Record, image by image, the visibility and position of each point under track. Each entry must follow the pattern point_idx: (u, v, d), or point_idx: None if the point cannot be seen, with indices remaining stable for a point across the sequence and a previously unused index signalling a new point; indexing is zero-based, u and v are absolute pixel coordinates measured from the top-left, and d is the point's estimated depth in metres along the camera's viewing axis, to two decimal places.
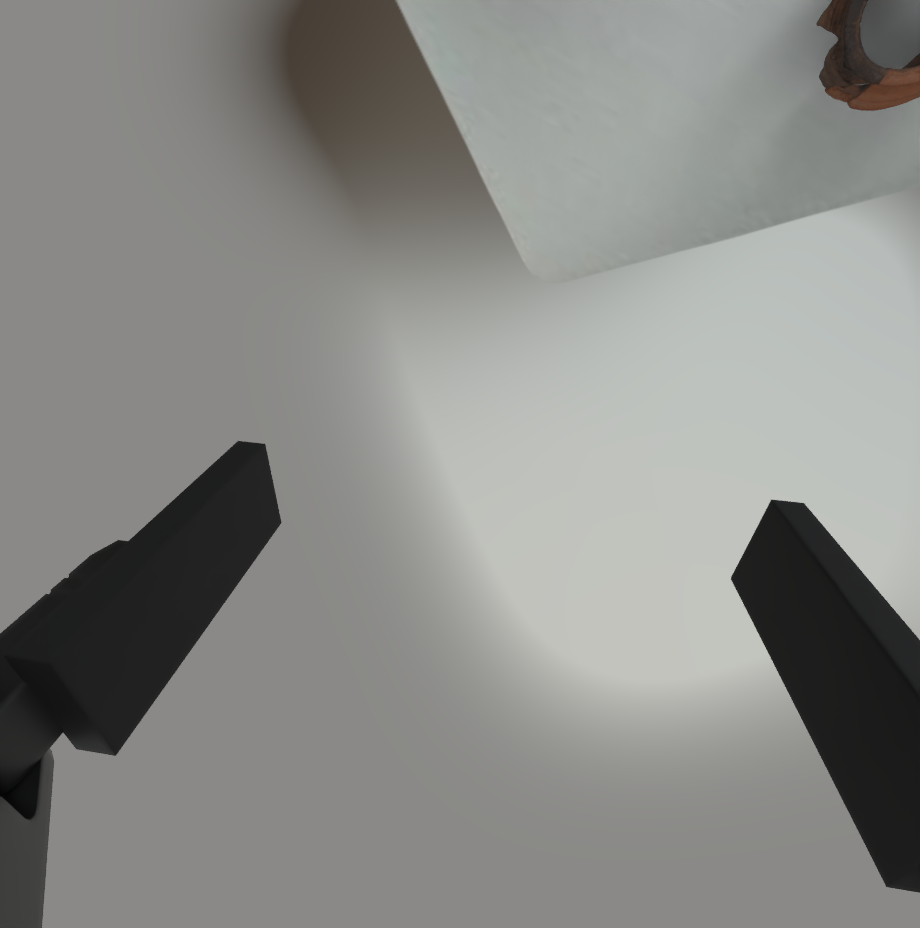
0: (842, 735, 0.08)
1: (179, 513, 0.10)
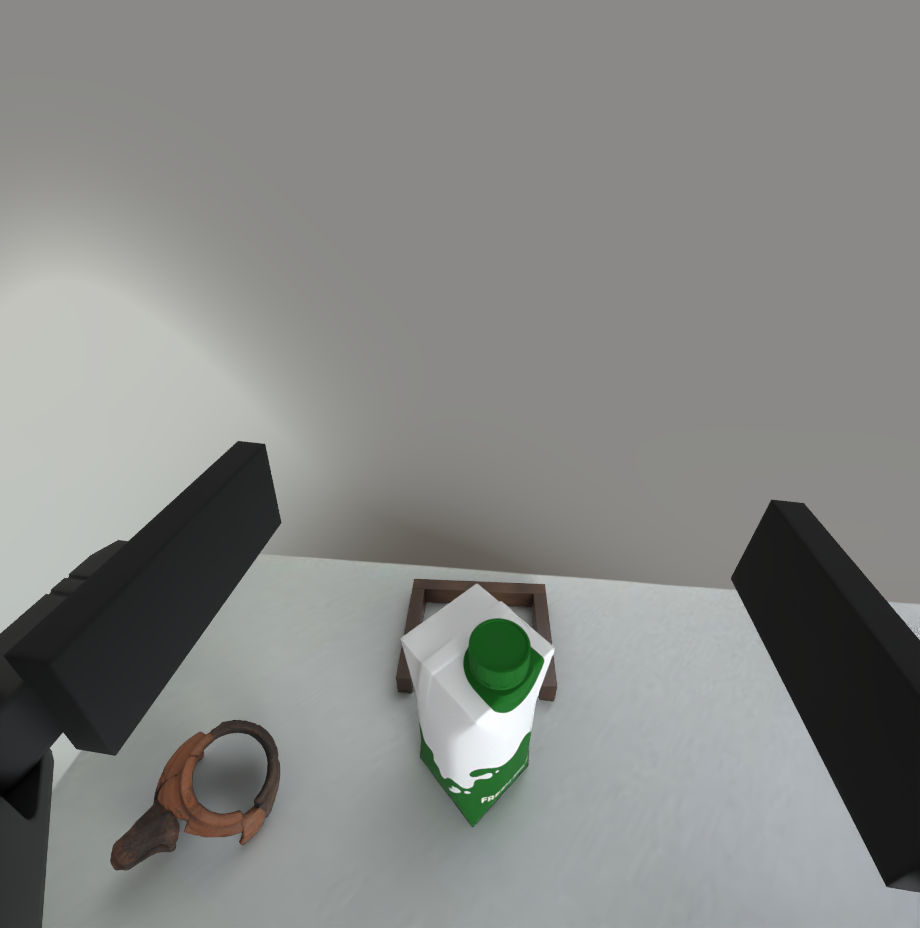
0: (842, 735, 0.08)
1: (179, 513, 0.10)
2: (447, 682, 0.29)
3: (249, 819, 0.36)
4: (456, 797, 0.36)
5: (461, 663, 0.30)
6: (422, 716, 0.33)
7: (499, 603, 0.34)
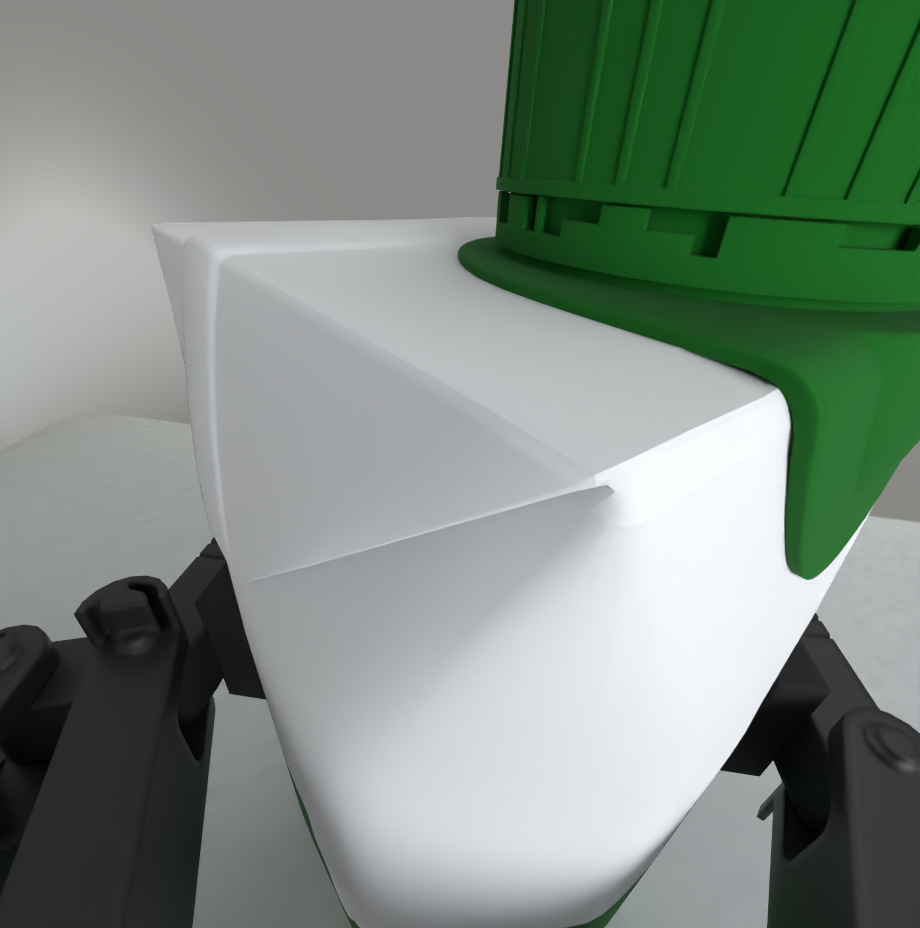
0: None
1: None
2: (312, 279, 0.03)
3: None
4: None
5: (446, 259, 0.05)
6: (248, 642, 0.07)
7: None
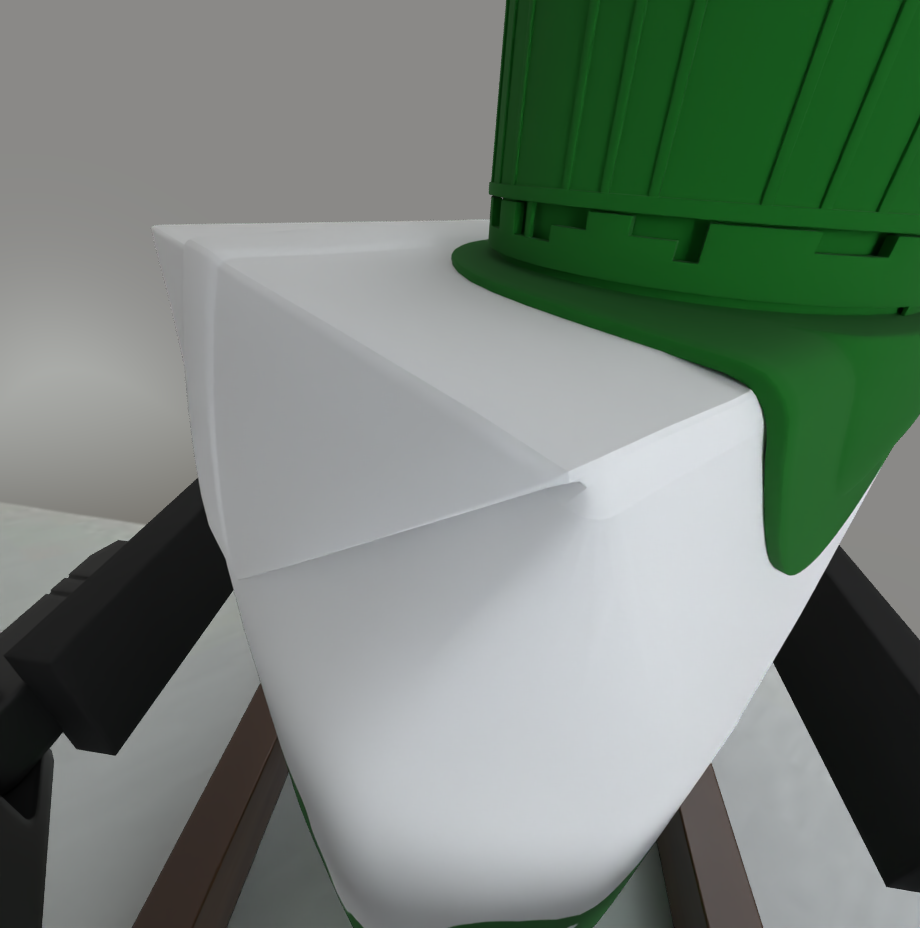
0: (843, 735, 0.08)
1: (179, 513, 0.10)
2: (307, 282, 0.04)
3: None
4: None
5: (439, 260, 0.05)
6: (247, 638, 0.07)
7: None
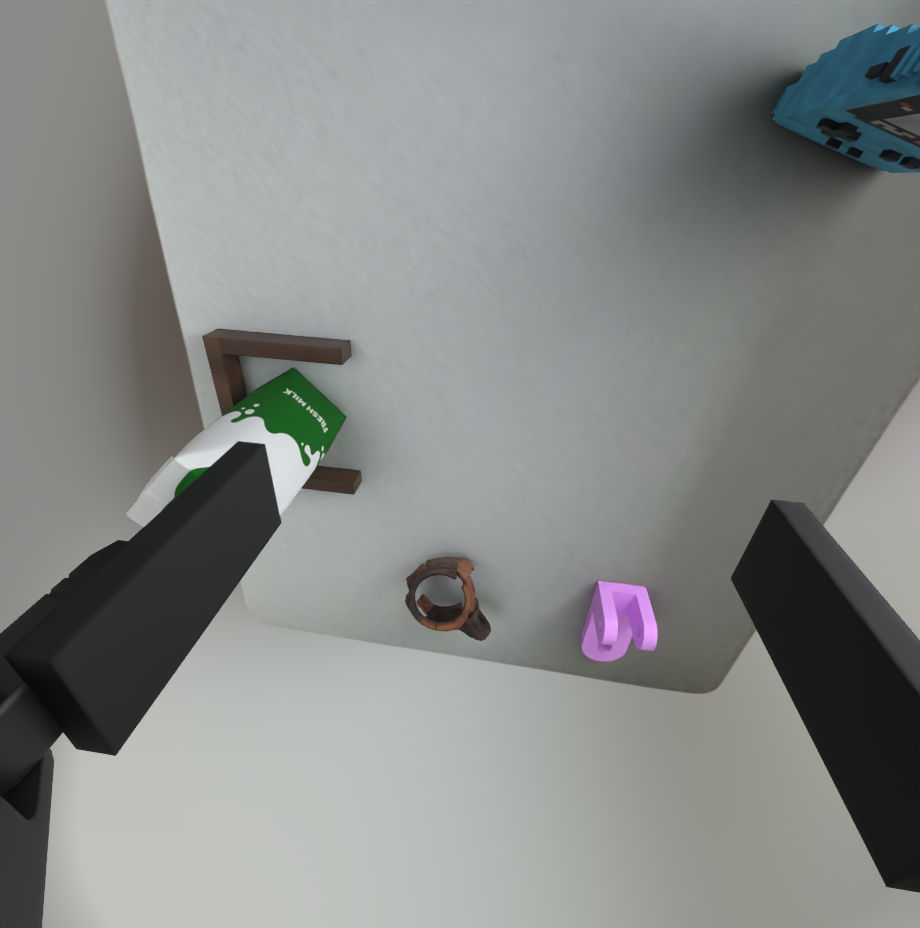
0: (843, 735, 0.08)
1: (179, 513, 0.10)
2: None
3: (464, 575, 0.53)
4: (327, 449, 0.44)
5: None
6: None
7: (142, 499, 0.32)
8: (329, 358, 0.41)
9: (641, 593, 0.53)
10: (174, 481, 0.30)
